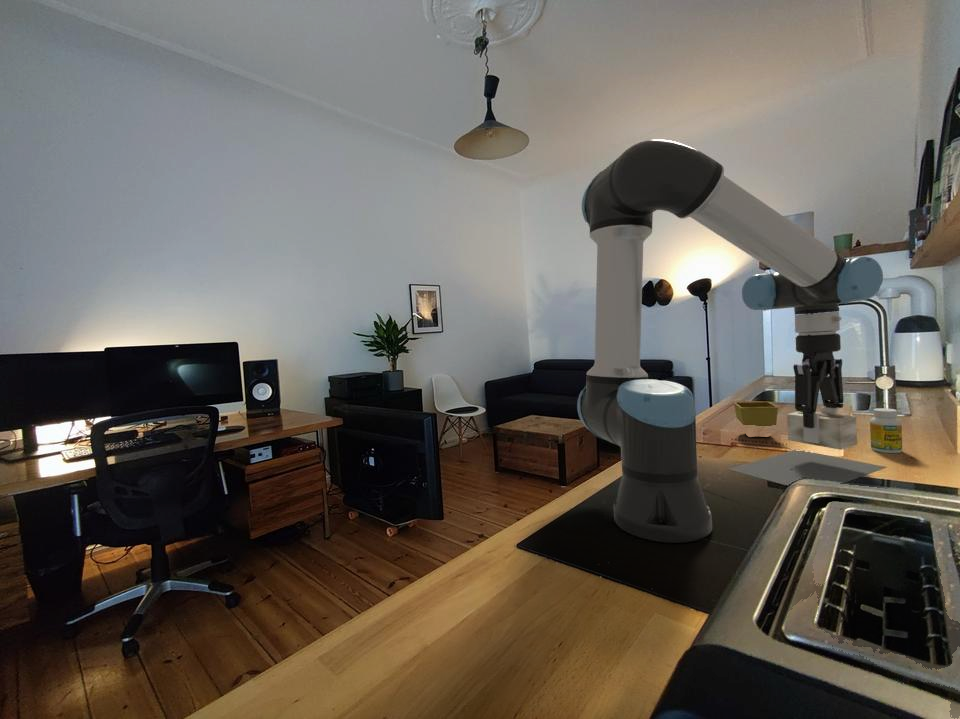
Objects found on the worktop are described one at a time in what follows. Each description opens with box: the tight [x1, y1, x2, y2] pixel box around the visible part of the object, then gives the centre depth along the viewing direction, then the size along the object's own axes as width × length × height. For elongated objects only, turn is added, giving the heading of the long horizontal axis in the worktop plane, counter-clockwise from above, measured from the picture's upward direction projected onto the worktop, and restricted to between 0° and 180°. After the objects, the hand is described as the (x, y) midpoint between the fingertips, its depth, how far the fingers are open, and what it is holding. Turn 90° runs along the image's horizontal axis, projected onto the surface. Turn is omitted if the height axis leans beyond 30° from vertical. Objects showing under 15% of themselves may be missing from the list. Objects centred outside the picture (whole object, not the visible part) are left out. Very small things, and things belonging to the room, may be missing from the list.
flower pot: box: [733, 401, 779, 426], centre depth 117 cm, size 9×9×9 cm
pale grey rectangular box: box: [786, 411, 858, 451], centre depth 91 cm, size 10×6×6 cm, turn 24°
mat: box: [727, 449, 887, 487], centre depth 89 cm, size 25×17×1 cm
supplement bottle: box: [869, 407, 903, 454], centre depth 98 cm, size 5×5×10 cm
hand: (820, 439), depth 91 cm, fingers closed on pale grey rectangular box, 6 cm apart
